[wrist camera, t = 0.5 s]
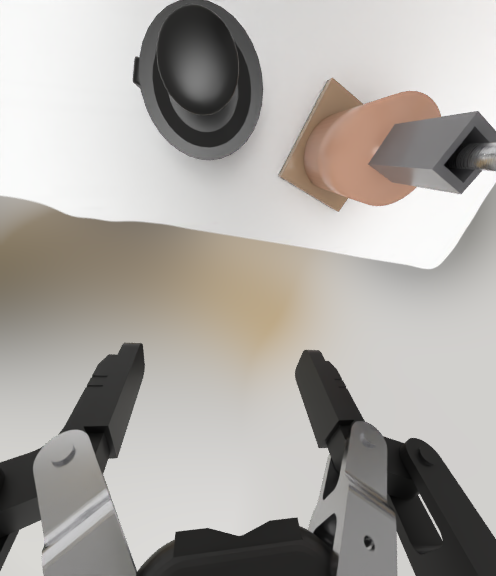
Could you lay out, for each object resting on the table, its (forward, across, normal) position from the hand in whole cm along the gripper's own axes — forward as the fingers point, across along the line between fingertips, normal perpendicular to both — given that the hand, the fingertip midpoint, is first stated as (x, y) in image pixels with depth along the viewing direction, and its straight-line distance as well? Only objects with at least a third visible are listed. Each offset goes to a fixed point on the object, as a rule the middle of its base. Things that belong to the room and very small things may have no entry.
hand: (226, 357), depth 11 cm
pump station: (+31, -16, -11) cm, 37 cm away
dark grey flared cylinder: (+31, +3, -12) cm, 34 cm away
